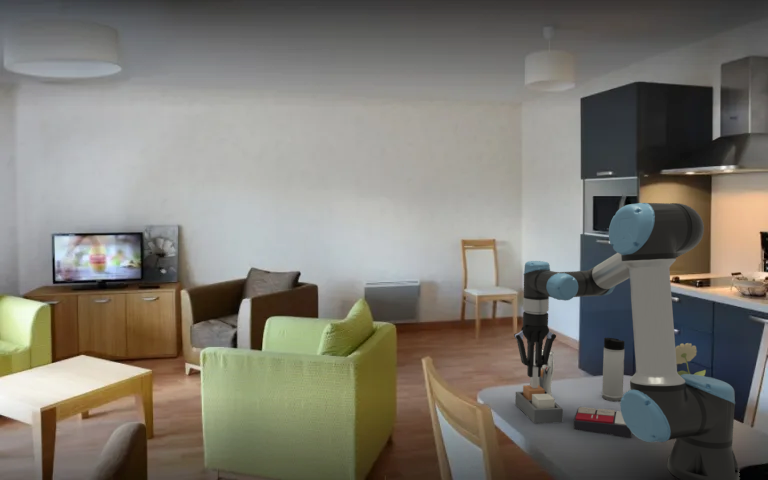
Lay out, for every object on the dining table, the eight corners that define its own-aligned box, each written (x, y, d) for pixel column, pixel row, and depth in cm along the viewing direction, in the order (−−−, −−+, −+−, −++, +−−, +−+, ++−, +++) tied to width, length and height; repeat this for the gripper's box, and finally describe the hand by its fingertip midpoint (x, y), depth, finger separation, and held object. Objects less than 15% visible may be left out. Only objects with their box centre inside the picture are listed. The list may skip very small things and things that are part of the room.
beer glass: (527, 394, 200) (528, 350, 199) (545, 392, 202) (547, 348, 201) (538, 401, 193) (540, 355, 192) (557, 399, 195) (559, 353, 194)
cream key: (554, 412, 177) (554, 399, 177) (538, 413, 177) (538, 399, 176) (547, 406, 182) (548, 393, 182) (531, 407, 181) (532, 394, 181)
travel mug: (597, 396, 198) (599, 336, 197) (612, 393, 201) (614, 334, 199) (611, 402, 192) (613, 341, 191) (626, 399, 195) (629, 339, 194)
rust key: (544, 402, 185) (544, 390, 184) (528, 403, 184) (528, 390, 184) (538, 397, 190) (538, 384, 189) (522, 398, 189) (523, 385, 189)
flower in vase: (711, 425, 174) (716, 340, 172) (722, 441, 163) (727, 350, 161) (662, 420, 177) (666, 337, 175) (669, 435, 166) (673, 346, 164)
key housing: (562, 422, 176) (562, 408, 175) (534, 423, 175) (534, 410, 174) (541, 403, 192) (541, 390, 191) (515, 404, 191) (515, 391, 190)
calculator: (577, 405, 180) (631, 410, 174) (578, 419, 181) (632, 424, 175) (573, 417, 170) (630, 423, 164) (573, 432, 171) (631, 439, 165)
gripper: (551, 308, 189) (549, 382, 191) (511, 309, 188) (509, 383, 190) (561, 313, 182) (558, 390, 184) (519, 314, 180) (517, 391, 182)
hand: (533, 386), depth 187 cm, fingers closed
